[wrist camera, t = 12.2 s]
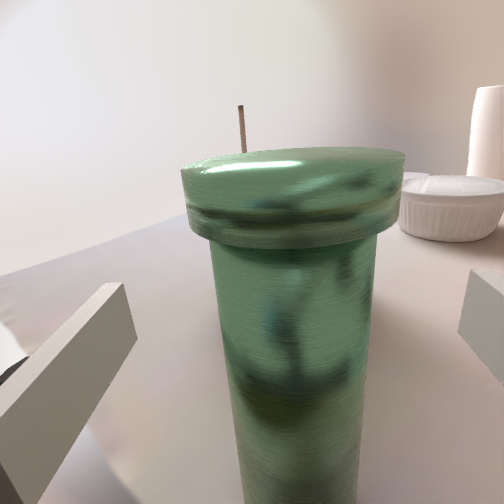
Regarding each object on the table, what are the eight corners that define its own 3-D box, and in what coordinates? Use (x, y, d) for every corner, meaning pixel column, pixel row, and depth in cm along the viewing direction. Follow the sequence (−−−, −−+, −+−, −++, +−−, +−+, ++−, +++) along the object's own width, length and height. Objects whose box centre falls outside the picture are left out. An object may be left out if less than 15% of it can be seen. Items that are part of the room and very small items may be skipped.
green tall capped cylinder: (385, 586, 10) (455, 167, 5) (225, 579, 10) (146, 187, 5) (319, 308, 23) (320, 129, 19) (253, 310, 24) (238, 135, 19)
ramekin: (375, 219, 42) (378, 179, 40) (459, 212, 42) (466, 171, 40) (418, 251, 32) (425, 199, 30) (530, 242, 32) (544, 190, 30)
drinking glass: (484, 180, 57) (503, 86, 51) (519, 187, 51) (546, 81, 45) (450, 184, 56) (465, 89, 51) (482, 191, 50) (503, 84, 44)
